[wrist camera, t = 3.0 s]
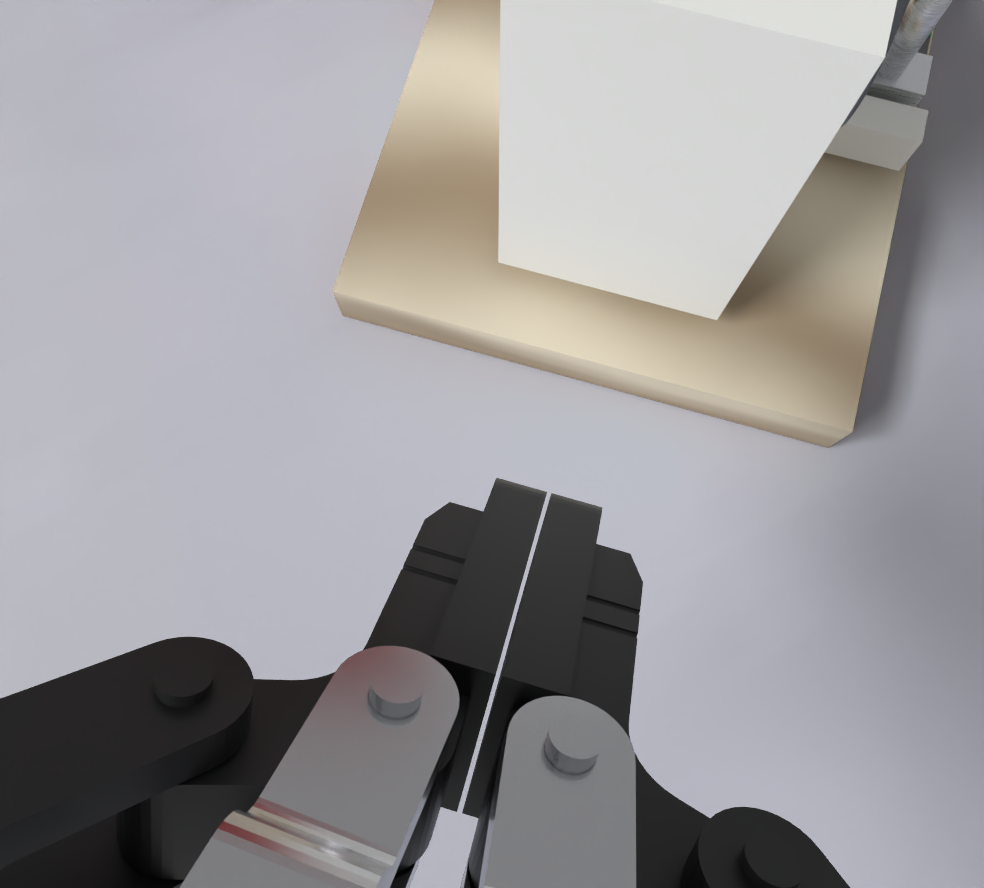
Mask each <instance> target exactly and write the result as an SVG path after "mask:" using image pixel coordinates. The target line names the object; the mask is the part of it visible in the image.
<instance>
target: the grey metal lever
mask: <svg viewBox="0 0 984 888" xmlns="http://www.w3.org/2000/svg"><path fill="white" fill-rule="evenodd" d="M952 1H953V0H910V1H909V4H908V6H907V9H906V11H905V14H904V16H903V18H902V21H901V23H900V26H899V28H898V30H897V33H896V35H895V37H894V39H893V42H892V44H891V46H890V48H889V51H888V53H887V55H886V57H885V59H884V61H883V63H882V65H881V67H880V69H879V71H878V73H877V75H876V77H875V79H874V81H873V83H872V85H871V86H870V88H869V90H868V92H867V94H866V95H868V96H872V97H876V98H880V99H884V100H888V101H892V102H896V103H900V104H905V105H909V106H913V107H917V105H918V104H919V103H920V101H921V100H922V99H923V97H924V96H925V95H926V90H927V85H928V80H929V75H930V70H931V65H932V60H933V56H930V55H926V54H922V53H918V50H919V49H920V47H921V46H922V44H923V43H924V42H925V40H926V39H927V37H928V36H929V34H930V33H931V31H932V30H933V28H934V27H935V26H936V24H937V23H938V21H939V20H940V18H941V17H942V15H943V14H944V12H945V11H946V10H947V8H948V7H949V5H950V4H951V2H952Z"/></svg>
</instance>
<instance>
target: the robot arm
mask: <svg viewBox="0 0 984 888" xmlns="http://www.w3.org/2000/svg"><path fill="white" fill-rule="evenodd" d="M546 493H547V492H545V491H541V490H538V489H534V488H531V487H527V486H524V485H520V484H517V483H513V482H510V481H506V480H503V479H499V478H497V479H496V480H495V483H494V486H493V488H492V491H491V494H490V496H489V499H488V501H487V504H486V507H485V509H484V512H482V511H479V510H475V509H472V508H469V507H465V506H462V505H458V504H455V503H451V502H449V503H448V504H446V505H445V506H443V507H442V508H441V509H439V510H438V511H436V512H435V513H433V514H432V515H431V516H429V517H428V518H426V519H425V521H424V523H423V525H422V527H421V529H420V531H419V533H418V536H417V538H416V540H415V542H414V544H413V548H412V549H411V550H410V553H409V555H408V557H407V559H406V561H405V563H404V566H403V569H402V570H401V572H400V574H399V576H398V578H397V580H396V583H395V585H394V587H393V589H392V591H391V593H390V595H389V598H388V600H387V602H386V604H385V606H384V608H383V610H382V612H381V615H380V617H379V619H378V621H377V623H376V625H375V627H374V630H373V632H372V634H371V636H370V638H369V640H368V642H367V644H366V646H365V648H364V649H363V651H360V652H358V653H356V654H354V655H353V656H351V657H349V658H348V659H347V660H346V661H344V662H343V663H342V664H341V665H340V667H339V668H338V669H337V671H336V672H334V673H332V674H329V675H326V676H323V677H319V678H314V679H307V680H262V679H253V675H252V672H251V669H250V667H249V666H248V664H247V662H246V661H245V660H244V658H243V657H242V656H241V655H240V654H239V653H237V652H236V651H235V650H233V649H232V648H230V647H228V646H227V645H225V644H223V643H220V642H217V641H214V640H211V639H206V638H200V637H177V638H171V639H166V640H162V641H159V642H155V643H153V644H150V645H147V646H144V647H142V648H139V649H136V650H133V651H131V652H128V653H125V654H122V655H120V656H117V657H114V658H111V659H109V660H106V661H103V662H100V663H98V664H95V665H92V666H89V667H87V668H84V669H81V670H78V671H76V672H73V673H70V674H67V675H65V676H62V677H59V678H56V679H53V680H51V681H48V682H45V683H42V684H40V685H37V686H34V687H31V688H29V689H26V690H23V691H20V692H18V693H15V694H12V695H9V696H7V697H4V698H1V699H0V888H409V887H410V885H411V882H412V880H413V877H414V875H415V872H416V870H417V866H418V863H419V859H420V857H421V856H422V855H423V853H424V852H425V850H426V849H427V847H428V845H429V842H430V840H431V837H432V834H433V830H434V827H435V824H436V820H437V817H438V814H439V810H440V807H443V808H446V809H450V810H453V811H456V812H457V809H458V806H459V802H460V798H461V795H462V791H463V788H464V784H465V781H466V777H467V774H468V770H469V767H470V763H471V760H472V756H473V753H474V749H475V745H476V742H477V738H478V735H479V731H480V728H481V724H482V721H483V717H484V714H485V710H486V707H487V703H488V700H489V696H490V692H491V689H492V685H493V682H494V678H495V675H496V671H497V668H498V664H499V661H500V657H501V653H502V650H503V646H504V643H505V639H506V636H507V632H508V629H509V625H510V621H511V618H512V614H513V611H514V607H515V604H516V600H517V597H518V593H519V589H520V586H521V582H522V579H523V575H524V572H525V568H526V565H527V561H528V557H529V554H530V550H531V547H532V543H533V540H534V536H535V533H536V529H537V525H538V522H539V518H540V515H541V511H542V508H543V504H544V501H545V497H546ZM601 513H602V507H598V506H595V505H591V504H588V503H584V502H581V501H577V500H573V499H570V498H566V497H563V496H559V495H556V494H552V493H551V497H550V500H549V504H548V507H547V511H546V514H545V518H544V521H543V525H542V528H541V531H540V535H539V538H538V542H537V545H536V549H535V552H534V556H533V559H532V563H531V566H530V570H529V573H528V577H527V580H526V584H525V587H524V591H523V595H522V598H521V602H520V605H519V609H518V612H517V616H516V620H515V623H514V627H513V630H512V634H511V638H510V641H509V645H508V649H507V652H506V656H505V660H504V663H503V667H502V670H501V674H500V678H499V681H498V685H497V689H496V692H495V696H494V700H493V703H492V707H491V711H490V714H489V718H488V721H487V725H486V729H485V732H484V736H483V740H482V743H481V747H480V751H479V754H478V758H477V761H476V765H475V769H474V772H473V776H472V780H471V783H470V787H469V791H468V794H467V798H466V801H465V805H464V809H463V812H462V813H464V814H467V815H470V816H473V817H477V818H479V820H478V823H477V827H476V831H475V835H474V839H473V843H472V847H471V851H470V854H469V858H468V861H467V864H466V867H465V871H464V874H463V878H462V881H461V886H460V888H850V887H849V886H848V884H847V883H846V882H845V881H844V879H843V878H842V877H841V876H840V874H839V873H838V872H837V871H836V869H835V868H834V867H833V865H832V864H831V863H830V862H829V860H828V859H827V858H826V857H825V855H824V854H823V853H822V852H821V850H820V849H819V848H818V847H817V846H816V845H815V843H814V842H813V841H812V840H811V839H810V838H809V837H808V836H807V835H806V834H805V833H803V832H802V831H801V830H800V829H799V828H797V827H796V826H794V825H793V824H792V823H790V822H789V821H787V820H785V819H783V818H781V817H780V816H778V815H775V814H773V813H770V812H768V811H764V810H761V809H757V808H750V807H734V808H730V809H726V810H723V811H721V812H719V813H717V814H715V815H714V816H713V817H712V818H708V817H707V816H705V815H704V814H702V813H700V812H699V811H697V810H696V809H694V808H692V807H691V806H689V805H687V804H686V803H684V802H683V801H681V800H679V799H678V798H676V797H675V796H673V795H672V794H670V793H669V792H668V791H666V790H665V789H664V788H662V787H661V786H660V785H659V784H658V783H657V782H656V781H655V780H654V779H653V778H652V777H651V776H650V775H649V774H648V773H647V772H646V770H645V769H644V767H643V766H642V765H641V763H640V762H639V760H638V758H637V756H636V754H635V752H634V749H633V746H632V743H631V741H630V736H629V714H630V704H631V695H632V685H633V675H634V665H635V655H636V645H637V638H636V637H637V634H638V626H639V616H640V615H639V612H640V606H641V596H642V586H643V581H642V579H641V577H640V575H639V572H638V570H637V568H636V566H635V563H634V561H633V559H632V557H631V554H629V553H626V552H622V551H619V550H615V549H612V548H608V547H605V546H601V545H598V544H596V541H597V535H598V530H599V524H600V519H601Z"/></svg>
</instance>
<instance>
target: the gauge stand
mask: <svg viewBox="0 0 984 888" xmlns="http://www.w3.org/2000/svg"><path fill="white" fill-rule="evenodd" d="M933 32H934V28H933V30H932V31H931V33H930V34H929V36H928V37H927V39H926V40H925V42H924V43H923V44H922V46H921V47H920V49H919V50H918V53H922V54H926V55H929V52H930V47H931V42H932V37H933ZM918 106H919V104H918V105H917V108H918ZM499 114H500V0H435V1H434V4H433V6H432V9H431V12H430V15H429V18H428V21H427V23H426V26H425V29H424V32H423V35H422V38H421V41H420V43H419V46H418V49H417V52H416V55H415V58H414V60H413V63H412V66H411V69H410V72H409V75H408V77H407V80H406V83H405V86H404V89H403V92H402V95H401V97H400V100H399V103H398V106H397V109H396V112H395V114H394V117H393V120H392V123H391V126H390V129H389V132H388V134H387V137H386V140H385V143H384V146H383V149H382V151H381V154H380V157H379V160H378V163H377V166H376V169H375V171H374V174H373V177H372V180H371V183H370V186H369V188H368V191H367V194H366V197H365V200H364V203H363V205H362V208H361V211H360V214H359V217H358V220H357V223H356V225H355V228H354V231H353V234H352V237H351V240H350V242H349V245H348V248H347V251H346V254H345V257H344V260H343V262H342V265H341V268H340V271H339V274H338V277H337V279H336V282H335V285H334V288H333V291H332V292H333V294H334V296H335V299H336V301H337V303H338V306H339V308H340V310H341V312H342V315H343V316H346V317H350V318H353V319H357V320H361V321H364V322H368V323H372V324H375V325H379V326H383V327H386V328H390V329H394V330H397V331H401V332H405V333H408V334H412V335H416V336H420V337H423V338H427V339H431V340H434V341H438V342H442V343H445V344H449V345H453V346H456V347H460V348H464V349H467V350H471V351H475V352H478V353H482V354H486V355H489V356H493V357H497V358H500V359H504V360H508V361H511V362H515V363H519V364H522V365H526V366H530V367H533V368H537V369H541V370H544V371H548V372H552V373H555V374H559V375H563V376H566V377H570V378H574V379H577V380H581V381H585V382H589V383H592V384H596V385H600V386H603V387H607V388H611V389H614V390H618V391H622V392H625V393H629V394H633V395H636V396H640V397H644V398H647V399H651V400H655V401H658V402H662V403H666V404H669V405H673V406H677V407H680V408H684V409H688V410H691V411H695V412H699V413H702V414H706V415H710V416H713V417H717V418H721V419H724V420H728V421H732V422H735V423H739V424H743V425H747V426H750V427H754V428H758V429H761V430H765V431H769V432H772V433H776V434H780V435H783V436H787V437H791V438H794V439H798V440H802V441H805V442H809V443H813V444H816V445H820V446H824V447H827V448H829V447H831V446H832V445H834V444H835V443H837V442H838V441H840V440H841V439H843V438H844V437H846V436H847V435H849V434H850V433H852V432H853V428H854V423H855V418H856V413H857V408H858V403H859V398H860V393H861V388H862V383H863V378H864V373H865V368H866V363H867V358H868V354H869V349H870V344H871V339H872V334H873V329H874V324H875V319H876V314H877V309H878V304H879V299H880V294H881V289H882V284H883V279H884V274H885V270H886V265H887V260H888V255H889V250H890V245H891V240H892V235H893V230H894V225H895V220H896V215H897V210H898V205H899V200H900V195H901V190H902V186H903V181H904V176H905V171H906V166H907V162H906V163H905V164H904V165H903V167H902V168H901V169H900V170H899V171H897V170H893V169H889V168H885V167H881V166H877V165H873V164H869V163H865V162H861V161H857V160H853V159H849V158H845V157H841V156H837V155H833V154H829V153H825V152H824V154H823V155H822V157H821V158H820V160H819V161H818V163H817V165H816V166H815V168H814V169H813V171H812V172H811V174H810V176H809V177H808V179H807V180H806V182H805V183H804V185H803V186H802V188H801V190H800V191H799V193H798V194H797V196H796V197H795V199H794V201H793V202H792V204H791V205H790V207H789V208H788V210H787V211H786V213H785V215H784V216H783V218H782V219H781V221H780V222H779V224H778V226H777V227H776V229H775V230H774V232H773V233H772V235H771V236H770V238H769V240H768V241H767V243H766V244H765V246H764V247H763V249H762V251H761V252H760V254H759V255H758V257H757V258H756V260H755V261H754V263H753V265H752V266H751V268H750V269H749V271H748V272H747V274H746V276H745V277H744V279H743V280H742V282H741V283H740V285H739V287H738V288H737V290H736V291H735V293H734V294H733V296H732V297H731V299H730V301H729V302H728V304H727V305H726V307H725V308H724V310H723V312H722V313H721V315H720V316H719V318H718V319H717V320H714V319H710V318H706V317H702V316H699V315H695V314H691V313H687V312H684V311H680V310H676V309H672V308H668V307H665V306H661V305H657V304H653V303H650V302H646V301H642V300H638V299H634V298H631V297H627V296H623V295H619V294H616V293H612V292H608V291H604V290H600V289H597V288H593V287H589V286H585V285H582V284H578V283H574V282H570V281H567V280H563V279H559V278H555V277H551V276H548V275H544V274H540V273H536V272H533V271H529V270H525V269H521V268H517V267H514V266H510V265H506V264H502V263H499V262H498V235H499ZM907 161H908V160H907Z"/></svg>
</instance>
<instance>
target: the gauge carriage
mask: <svg viewBox="0 0 984 888" xmlns="http://www.w3.org/2000/svg"><path fill="white" fill-rule="evenodd" d="M909 1H910V0H500V114H499V235H498V262H499V263H502V264H506V265H510V266H514V267H517V268H521V269H525V270H529V271H533V272H536V273H540V274H544V275H548V276H551V277H555V278H559V279H563V280H567V281H570V282H574V283H578V284H582V285H585V286H589V287H593V288H597V289H600V290H604V291H608V292H612V293H616V294H619V295H623V296H627V297H631V298H634V299H638V300H642V301H646V302H650V303H653V304H657V305H661V306H665V307H668V308H672V309H676V310H680V311H684V312H687V313H691V314H695V315H699V316H702V317H706V318H710V319H714V320H717V319H718V318H719V316H720V315H721V313H722V312H723V310H724V308H725V307H726V305H727V304H728V302H729V301H730V299H731V297H732V296H733V294H734V293H735V291H736V290H737V288H738V287H739V285H740V283H741V282H742V280H743V279H744V277H745V276H746V274H747V272H748V271H749V269H750V268H751V266H752V265H753V263H754V261H755V260H756V258H757V257H758V255H759V254H760V252H761V251H762V249H763V247H764V246H765V244H766V243H767V241H768V240H769V238H770V236H771V235H772V233H773V232H774V230H775V229H776V227H777V226H778V224H779V222H780V221H781V219H782V218H783V216H784V215H785V213H786V211H787V210H788V208H789V207H790V205H791V204H792V202H793V201H794V199H795V197H796V196H797V194H798V193H799V191H800V190H801V188H802V186H803V185H804V183H805V182H806V180H807V179H808V177H809V176H810V174H811V172H812V171H813V169H814V168H815V166H816V165H817V163H818V161H819V160H820V158H821V157H822V155H823V154H824V152H825V153H829V154H833V155H837V156H841V157H845V158H849V159H853V160H857V161H861V162H865V163H869V164H873V165H877V166H881V167H885V168H889V169H893V170H897V171H899V170H900V169H901V168H902V167H903V165H904V164H905V163H906V162H907V160H908V159H909V158H910V157H911V156H912V154H913V153H914V152H915V151H916V149H917V148H918V147H919V146H920V144H921V143H922V142H923V137H924V132H925V127H926V122H927V117H928V112H929V110H925V109H921V108H917V107H913V106H909V105H905V104H900V103H896V102H892V101H888V100H884V99H880V98H876V97H872V96H868V95H866V94H867V92H868V90H869V88H870V86H871V85H872V83H873V81H874V79H875V77H876V75H877V73H878V71H879V69H880V67H881V65H882V63H883V61H884V59H885V57H886V55H887V53H888V51H889V48H890V46H891V44H892V42H893V39H894V37H895V35H896V33H897V30H898V28H899V26H900V23H901V21H902V18H903V16H904V14H905V11H906V9H907V6H908V4H909Z"/></svg>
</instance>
